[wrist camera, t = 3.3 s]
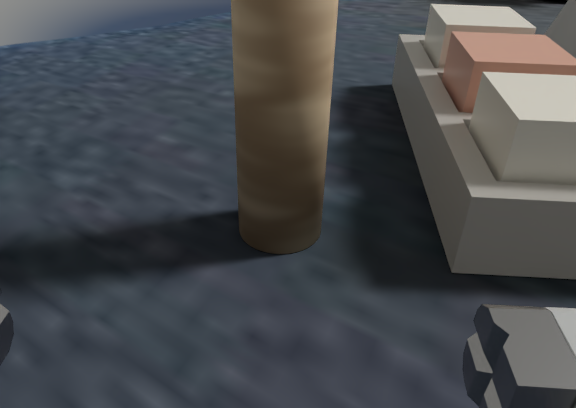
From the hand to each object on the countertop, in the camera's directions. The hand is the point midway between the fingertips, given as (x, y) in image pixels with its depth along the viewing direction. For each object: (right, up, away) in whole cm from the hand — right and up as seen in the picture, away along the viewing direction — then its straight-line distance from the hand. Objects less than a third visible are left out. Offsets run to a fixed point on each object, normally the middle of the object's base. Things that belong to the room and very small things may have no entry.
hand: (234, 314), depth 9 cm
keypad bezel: (+12, +5, +20) cm, 24 cm away
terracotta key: (+12, +7, +18) cm, 23 cm away
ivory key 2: (+12, +4, +13) cm, 18 cm away
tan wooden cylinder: (+1, +1, +14) cm, 14 cm away
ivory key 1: (+12, +11, +24) cm, 29 cm away
